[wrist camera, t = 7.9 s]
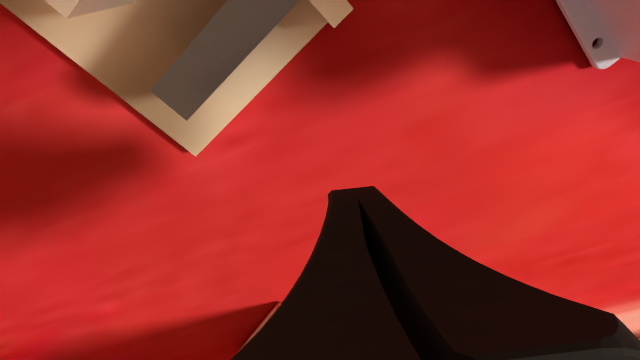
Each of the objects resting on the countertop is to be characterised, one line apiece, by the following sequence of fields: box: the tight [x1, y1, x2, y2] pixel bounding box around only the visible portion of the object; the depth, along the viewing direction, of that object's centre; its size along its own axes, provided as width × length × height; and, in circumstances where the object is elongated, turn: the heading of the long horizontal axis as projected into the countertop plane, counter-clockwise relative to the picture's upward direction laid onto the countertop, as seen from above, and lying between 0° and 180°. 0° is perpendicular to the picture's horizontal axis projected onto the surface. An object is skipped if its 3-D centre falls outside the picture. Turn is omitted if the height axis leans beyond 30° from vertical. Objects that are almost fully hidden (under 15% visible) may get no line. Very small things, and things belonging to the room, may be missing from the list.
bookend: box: [150, 0, 297, 121], centre depth 14 cm, size 2×5×4 cm, turn 133°
